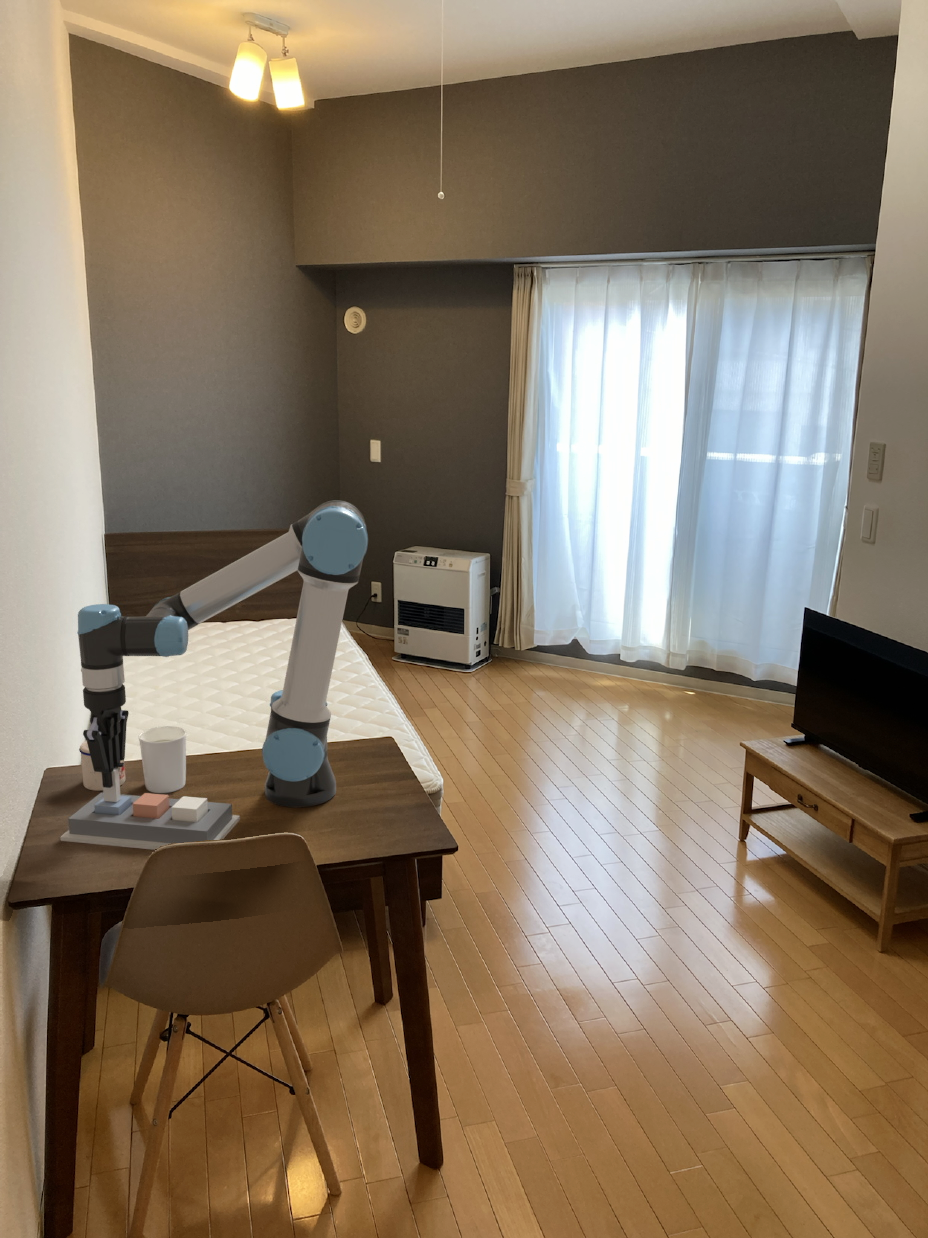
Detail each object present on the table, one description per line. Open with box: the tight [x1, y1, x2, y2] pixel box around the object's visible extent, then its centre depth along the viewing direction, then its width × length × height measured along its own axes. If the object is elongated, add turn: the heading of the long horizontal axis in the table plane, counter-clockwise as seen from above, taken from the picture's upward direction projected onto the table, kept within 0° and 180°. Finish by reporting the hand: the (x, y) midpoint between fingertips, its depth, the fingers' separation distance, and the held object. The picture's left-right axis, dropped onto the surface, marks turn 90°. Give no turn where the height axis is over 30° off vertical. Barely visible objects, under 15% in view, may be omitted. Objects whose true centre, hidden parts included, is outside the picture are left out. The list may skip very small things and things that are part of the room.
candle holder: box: [138, 725, 187, 794], centre depth 201 cm, size 10×10×12 cm
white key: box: [172, 795, 208, 822], centre depth 180 cm, size 5×5×3 cm
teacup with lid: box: [78, 740, 126, 792], centre depth 203 cm, size 12×9×12 cm
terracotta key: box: [133, 792, 170, 819], centre depth 181 cm, size 5×5×3 cm
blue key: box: [94, 796, 132, 815], centre depth 183 cm, size 5×5×3 cm
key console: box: [60, 792, 241, 851], centre depth 182 cm, size 30×15×4 cm, turn 81°
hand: (112, 799), depth 182 cm, fingers closed
